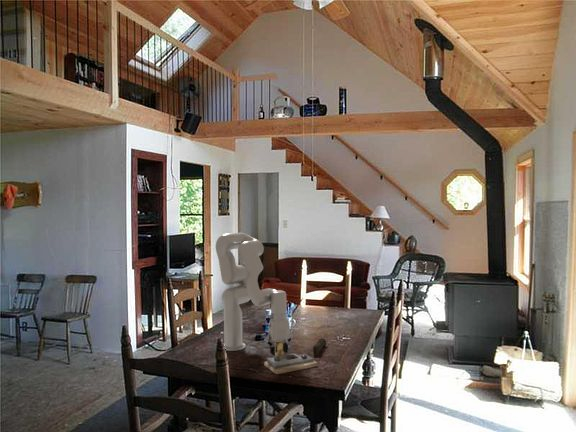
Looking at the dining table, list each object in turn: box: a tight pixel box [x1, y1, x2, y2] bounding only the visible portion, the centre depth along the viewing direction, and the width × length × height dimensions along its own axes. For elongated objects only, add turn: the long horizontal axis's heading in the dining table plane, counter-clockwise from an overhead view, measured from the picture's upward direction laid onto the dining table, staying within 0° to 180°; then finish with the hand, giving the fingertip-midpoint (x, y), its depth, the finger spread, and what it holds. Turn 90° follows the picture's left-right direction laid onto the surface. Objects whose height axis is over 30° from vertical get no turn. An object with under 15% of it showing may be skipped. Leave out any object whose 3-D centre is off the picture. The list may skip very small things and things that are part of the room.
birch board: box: [263, 360, 318, 375], centre depth 197 cm, size 13×21×2 cm, turn 117°
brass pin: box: [274, 340, 284, 357], centre depth 207 cm, size 4×4×8 cm
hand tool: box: [312, 338, 327, 357], centre depth 217 cm, size 19×4×5 cm, turn 160°
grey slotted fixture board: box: [266, 352, 315, 369], centre depth 196 cm, size 8×20×3 cm, turn 117°
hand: (279, 352), depth 207 cm, fingers open, 6 cm apart
